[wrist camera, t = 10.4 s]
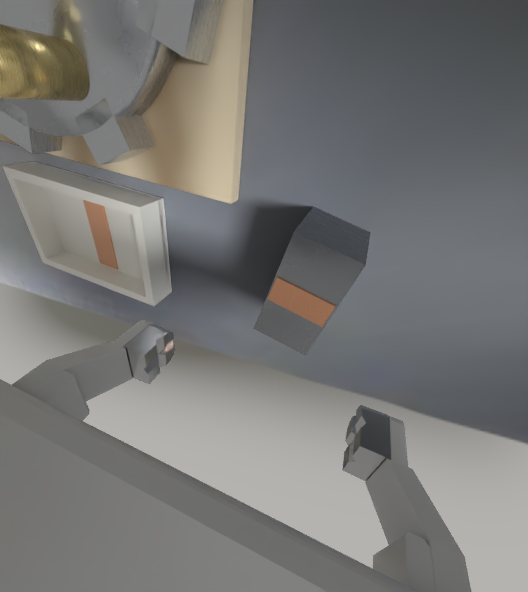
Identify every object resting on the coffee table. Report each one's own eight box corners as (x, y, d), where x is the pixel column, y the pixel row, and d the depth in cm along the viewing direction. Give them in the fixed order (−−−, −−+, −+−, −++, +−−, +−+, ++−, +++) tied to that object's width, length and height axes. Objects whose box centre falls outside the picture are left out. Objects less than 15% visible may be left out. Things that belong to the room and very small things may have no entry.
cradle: (163, 198, 19) (139, 207, 17) (172, 291, 24) (154, 306, 22) (34, 161, 22) (2, 165, 20) (66, 252, 27) (42, 263, 25)
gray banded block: (370, 231, 16) (365, 265, 12) (319, 314, 20) (304, 356, 16) (314, 205, 16) (293, 231, 12) (276, 292, 20) (253, 329, 17)
